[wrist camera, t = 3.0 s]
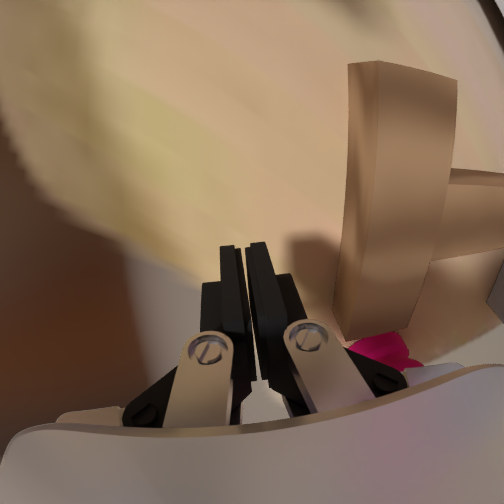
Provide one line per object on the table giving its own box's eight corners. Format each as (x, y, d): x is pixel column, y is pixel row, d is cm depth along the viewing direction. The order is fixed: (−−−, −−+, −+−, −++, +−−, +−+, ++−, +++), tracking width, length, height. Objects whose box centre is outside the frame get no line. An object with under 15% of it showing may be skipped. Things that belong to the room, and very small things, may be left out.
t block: (347, 64, 11) (378, 60, 8) (513, 108, 12) (543, 118, 9) (331, 309, 19) (346, 341, 16) (475, 278, 20) (494, 299, 17)
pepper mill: (419, 331, 22) (508, 517, 5) (372, 380, 25) (432, 550, 8) (366, 319, 20) (465, 566, 3) (315, 376, 23) (370, 586, 6)
